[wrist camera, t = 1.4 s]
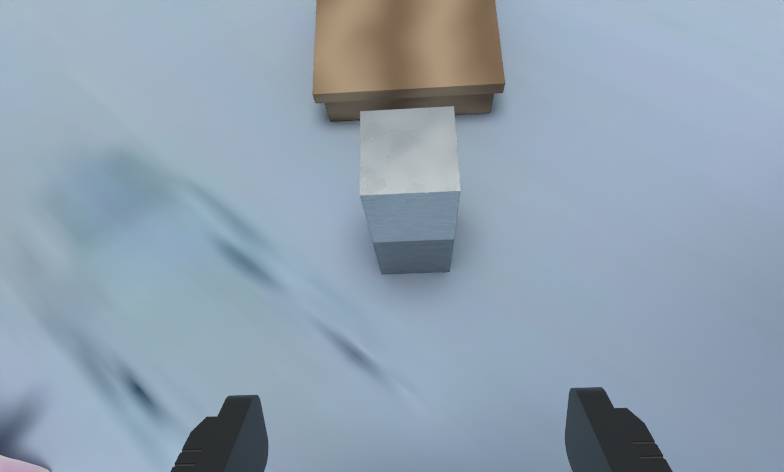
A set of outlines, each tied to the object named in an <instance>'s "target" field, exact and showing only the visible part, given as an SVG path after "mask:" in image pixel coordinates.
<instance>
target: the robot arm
mask: <svg viewBox="0 0 784 472" xmlns="http://www.w3.org/2000/svg"><path fill="white" fill-rule="evenodd" d="M565 445H566V452H567V456H568V460H569V463H570V466H571V468H572V471H573V472H672V470H671V468H670V467H669V465H668V463H667V461H666V460H665V459H663V455H662V453H661V451H660V449H659V448H658V446H657V444H655V442H654V439H653V437H652V436H651V434H650V432H649V430H648V429H647V427H646V425H645V424H644V423H643V422H642V421H641V420H640V419H639V418H638V417H637V416H635V415H634V414H633V413H632V412H631V411H630V410H628V409H627V408H614V407H613V405H612V403H611V401H610V399H609V397H608V396H607V394H606V392H605V390H604V389H603V388H601V387H592V388H571V389H570V392H569V400H568V410H567V419H566V429H565ZM267 458H268V438H267V432H266V427H265V422H264V417H263V412H262V407H261V402H260V398H259V396H258V395H237V396H228V397H227V398H226V400H225V402H224V404H223V406H222V408H221V410H220V412H219V414H218V417H206V418H205V419H204V420H203V421H202V422H201V423H200V424H199V425H198V426H197V427H196V428H195V429H194V430H193V431H192V432H191V433H190V435H189V437H188V439H187V441H186V443H185V445H184V447H183V449H182V453H180V454H179V456H178V458H177V460H176V462H175V467H173V468H172V470H171V472H264V470H265V467H266V463H267Z"/></svg>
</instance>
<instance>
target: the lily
mask: <svg viewBox="0 0 784 472" xmlns="http://www.w3.org/2000/svg"><path fill="white" fill-rule="evenodd" d="M0 472H50V471H49V470H48V469H45V468H43V467H41V466H37V465H34V464H30V463H27V462H23V461H19V460H16V459H12V458H8V457H5V456H1V455H0Z"/></svg>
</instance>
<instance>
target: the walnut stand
mask: <svg viewBox="0 0 784 472" xmlns="http://www.w3.org/2000/svg"><path fill="white" fill-rule="evenodd" d="M504 86H505V79H504V71H503V63H502V55H501V47H500V39H499V31H498V22H497V14H496V6H495V0H317V7H316V30H315V52H314V75H313V97H314V100H315V103H325V105H326V109H327V112H328V115H329V118H330V121H345V120H360V111H376V110H394V109H412V108H431V107H449V106H454V114H455V115H456V114H474V113H490V110H491V105H492V100H493V94H494V93H503V90H504Z"/></svg>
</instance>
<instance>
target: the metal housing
mask: <svg viewBox="0 0 784 472" xmlns="http://www.w3.org/2000/svg"><path fill="white" fill-rule="evenodd" d="M360 197H361V201H362V205H363V208H364V212H365V215H366V219H367V223H368V226H369V230H370V234H371V237H372V241H373V244H374V248H375V252H376V255H377V259H378V262H379V266H380V270H381V273H382V274H404V273H430V272H450V264H451V257H452V250H453V242H454V235H455V227H456V220H457V213H458V205H459V198H460V179H459V166H458V153H457V140H456V127H455V114H454V106H449V107H431V108H412V109H394V110H376V111H360Z"/></svg>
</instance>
